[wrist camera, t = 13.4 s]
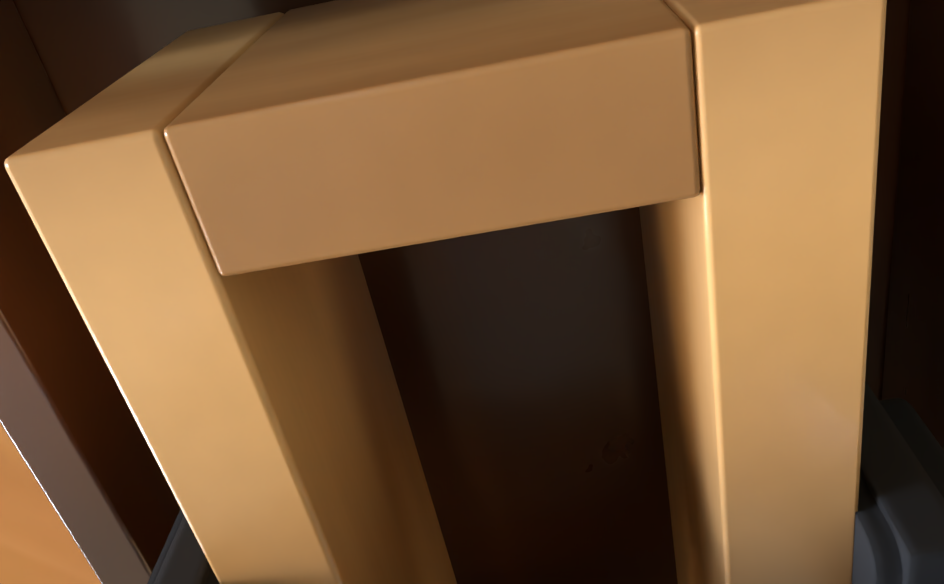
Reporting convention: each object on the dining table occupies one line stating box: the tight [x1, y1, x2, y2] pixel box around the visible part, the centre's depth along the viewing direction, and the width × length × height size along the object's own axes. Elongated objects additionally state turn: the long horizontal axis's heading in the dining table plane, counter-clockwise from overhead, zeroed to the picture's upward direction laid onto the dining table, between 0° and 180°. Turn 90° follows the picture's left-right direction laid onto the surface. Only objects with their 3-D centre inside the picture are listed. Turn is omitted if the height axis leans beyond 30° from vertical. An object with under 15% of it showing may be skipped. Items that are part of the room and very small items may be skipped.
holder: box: [0, 0, 944, 584], centre depth 12 cm, size 16×13×4 cm
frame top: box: [4, 0, 887, 584], centre depth 10 cm, size 12×6×4 cm, turn 11°
